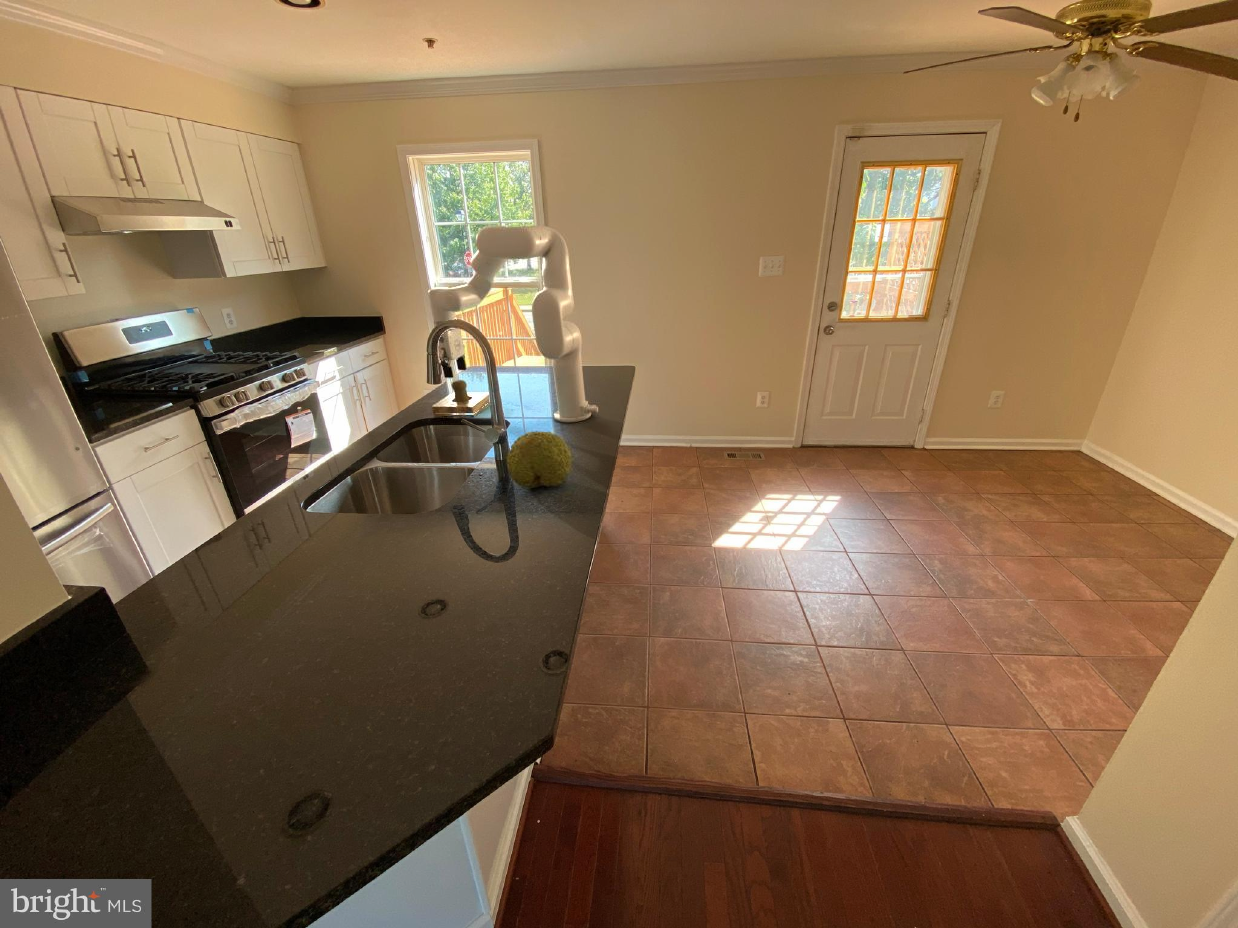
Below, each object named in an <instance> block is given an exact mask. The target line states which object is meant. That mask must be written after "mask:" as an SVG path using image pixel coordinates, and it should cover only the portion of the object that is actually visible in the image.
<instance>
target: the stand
mask: <svg viewBox="0 0 1238 928" xmlns="http://www.w3.org/2000/svg"><path fill="white" fill-rule="evenodd" d="M489 392H490V391H489ZM489 392H488V391H487V392H483V391H482V392H480V391H479V392H475V391H474V392H471V391H470V392H468V391H467V394H468V396H469V399H470V400H469V401H466V402H460V403H455V392H451V393H450V394H448V395H447V396H445V397H444V398H442V399H441V400H439V401H438V402H436V403H435V404H433V405H432V406H431V411H432V414H433V417H434V418H445V417H444V416H475V417H477V416H478V415H479V414H481V412H483V411H485V409H487V408H488V407H490V406H491V404H490V402H489ZM487 403H488V404H487ZM485 404H487V405H486V406H485ZM483 406H484V407H483ZM482 407H483V408H482ZM478 410H479V411H478ZM477 411H478V412H477ZM475 412H477V413H475ZM435 413H475V414H474V415H450V414H435ZM442 416H443V417H442Z"/></svg>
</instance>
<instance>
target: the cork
mask: <svg viewBox="0 0 1238 928" xmlns="http://www.w3.org/2000/svg"><path fill="white" fill-rule="evenodd" d="M467 386H468V385H467V382H466V381H465V380H463V379H457V380H454V381H452V382H451V388H452V390H453V393H455V403H460V402H466V401H469V400H470V399H469V396H468V394H467V392H468V391H467V388H468V387H467Z"/></svg>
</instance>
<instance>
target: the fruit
mask: <svg viewBox="0 0 1238 928" xmlns="http://www.w3.org/2000/svg"><path fill="white" fill-rule="evenodd" d="M507 453H508V454H507V455H506V462H505V463H506V465H507V470H508V471H507V472H508V473H509V475H510V479H512V481H513V482H514V483H515V484H516V485H518V486H520V487H521V488H526V489H533V488H538V487H543V486H545V487H547V488H550V487H557V486H559V485H560V484H561V483H563V482H565V480H566V479H567V477H568V476H569V474H570V470H571V467H572V466H571V465H572V462H573V456H572V451H570V447H569V446H568V444H567V442H566V440H565V439H563V438H562V437H560V436H558V435H557V434H556V433H553V432H551V431H543V430H542V431H540V430H539V431H538V430H536V431H529V432H528V433H524V434H522V435H521V436H519V437H517V439H516V440H515V441H513V444H511V445H510V449H509V450H508V452H507Z"/></svg>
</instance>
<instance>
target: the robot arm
mask: <svg viewBox="0 0 1238 928" xmlns="http://www.w3.org/2000/svg"><path fill="white" fill-rule="evenodd" d="M475 247H476V249H477V251H476V252H475V253H474V254H473V256H472V257H471V259H470V266H471V269H472V270H473V271H474V274H473V276H471V278H470V279H469V281H468V282H467V283H466V284H463V285H458V286H455V287H450V288H449V287H446V286H441V287H440V286H439V287H433V288H430V289H428V292H427V295H428V301H429V306H430V311H431V315H432V319H433V320H432V321H433V324H434V328H435V327H436V326H437V325H439V323H442V322H444V321H448V320H455V319H456V320H457V315H456V313H458V312H463V311H467V310H469V309H472V308H473V309H474V308H475V307H477V306H479V305H480V304H481V303H482V302H483V300H484V299H485V298H487V296H488V294H489V293H490V291H491V290H492V287H493V285H494V281H495V280H494V279H495V277H496V276H497V274H498V273H499V272H500V270H501V269H502V268H503V266H504V265H505V264H506V262H508V260H527V259H529V260H530V259H534V258H538V257H541V258H542V270H541V273H542V281H543V290H540V291H539V292H537V293H536V294H535V296H534V298H533V300H532V301H531V302H532V304H531V316H532V323H533V330H534V337H535V342H536V346H537V349H538V351H539V353H540V354H541V356H543V357H544V358H546V359H548V360H552V370H553V371H552V372H553V379H554V386H555V394H556V403H557V411H556V412H555V413H554V414H553V415H554V419H555V420H556V421H557V422H561V423H577V422H581V421H584V420H587V419H589V418H590V417H591V415H592V413H593V414H594V413H595V414H596V413H597V414H598V413H599V407H598V406H597V404H589V400H586V394H585V393H586V392H585V383H584V373H583V362H582V360H583V359H582V346H583V344H582V343H583V342H582V341H583V340H582V332H581V330H580V328H579V327H578V326H577V325H576V324H575V323H574V322H571V321H568V320H565V321H564V320H563V319H564V318H566V317H568V316H569V315H571V314H572V312H573V311H574V307H575V300H574V292H573V283H572V274H571V268H570V267H571V265H570V254H569V248H568V246H567V243H566V240H565V239H564V237H563V236H562V234H561V233H560V232H558V231H557V230H555V229H554V228H552V227H549V226H546V225H541V224H539V225H537V224H536V225H525V226H506V225H491V226H489V225H488V226H484V227H483V228H481V229H480V230H479V231H478V232H477V234H476V236H475ZM463 340H464V339H463V337H462V333H461V331H460V328H459V329H449V330H448V331H446V332H444V334H442V335H441V337H440V339H439V346H438V345H437V350H438V354H439V358H440V360H441V364H440V366H442V367H441V368H442V371H443V372H442V373H443V377H444V378H445V379H453V378H454V373H453V368H452V366H451V362H452V361H455V362H456V367H457V370H458V371H466V370H467V364H466V360H465V359H466V356H465V353H466V350H465V348H466V347H465V344H464V341H463Z"/></svg>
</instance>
